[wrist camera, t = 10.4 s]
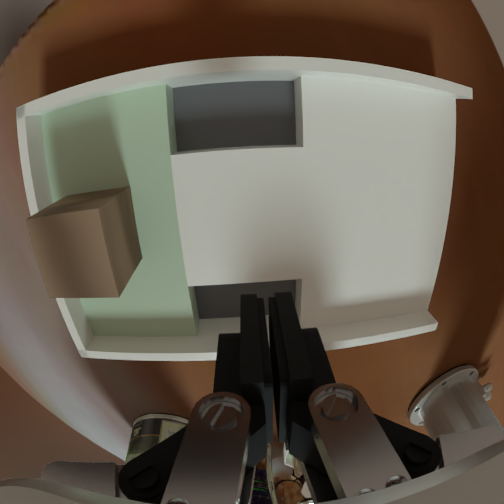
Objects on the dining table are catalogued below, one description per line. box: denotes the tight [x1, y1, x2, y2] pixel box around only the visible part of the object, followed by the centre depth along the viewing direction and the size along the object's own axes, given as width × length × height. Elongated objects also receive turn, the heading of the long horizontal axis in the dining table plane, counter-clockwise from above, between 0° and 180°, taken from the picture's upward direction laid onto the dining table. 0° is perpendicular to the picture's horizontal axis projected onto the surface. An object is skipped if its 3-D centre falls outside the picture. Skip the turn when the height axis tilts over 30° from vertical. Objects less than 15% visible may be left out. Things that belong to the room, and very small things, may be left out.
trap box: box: [16, 56, 473, 361], centre depth 19 cm, size 30×20×4 cm, turn 93°
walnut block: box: [26, 186, 142, 298], centre depth 16 cm, size 5×5×5 cm
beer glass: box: [265, 397, 314, 504], centre depth 22 cm, size 7×7×15 cm
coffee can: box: [125, 414, 189, 464], centre depth 26 cm, size 10×10×14 cm
